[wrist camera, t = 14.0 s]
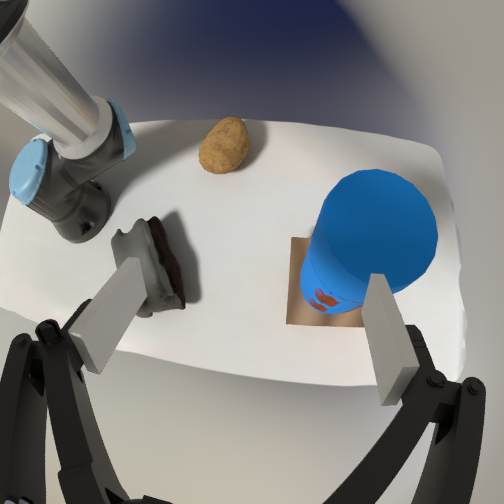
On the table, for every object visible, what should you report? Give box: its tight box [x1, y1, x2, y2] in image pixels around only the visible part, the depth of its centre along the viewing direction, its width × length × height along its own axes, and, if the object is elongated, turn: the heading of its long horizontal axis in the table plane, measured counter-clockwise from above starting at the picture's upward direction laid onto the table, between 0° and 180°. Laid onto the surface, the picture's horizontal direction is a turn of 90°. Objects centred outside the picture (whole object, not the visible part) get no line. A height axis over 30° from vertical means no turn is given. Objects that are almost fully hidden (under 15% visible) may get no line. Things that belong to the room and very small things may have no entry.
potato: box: [199, 116, 249, 174], centre depth 59 cm, size 10×14×8 cm
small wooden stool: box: [286, 237, 364, 327], centre depth 50 cm, size 14×14×7 cm
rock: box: [111, 216, 185, 318], centre depth 53 cm, size 18×11×8 cm, turn 25°
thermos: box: [300, 169, 438, 315], centre depth 35 cm, size 11×11×25 cm
